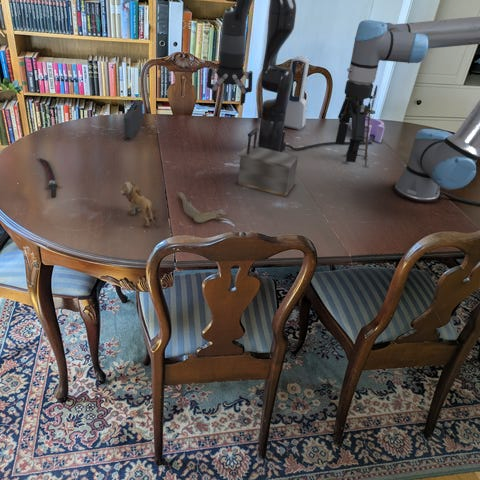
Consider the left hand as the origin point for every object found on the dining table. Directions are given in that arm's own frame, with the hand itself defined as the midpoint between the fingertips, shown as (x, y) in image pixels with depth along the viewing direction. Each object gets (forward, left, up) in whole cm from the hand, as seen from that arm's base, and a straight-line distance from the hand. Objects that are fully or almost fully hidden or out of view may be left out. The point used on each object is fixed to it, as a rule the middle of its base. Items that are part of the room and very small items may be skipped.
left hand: (228, 103), depth 150 cm
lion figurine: (+37, +14, -26) cm, 47 cm away
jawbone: (+18, +16, -26) cm, 36 cm away
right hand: (-22, +33, -7) cm, 40 cm away
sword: (+54, -22, -26) cm, 63 cm away
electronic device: (-58, -34, -26) cm, 72 cm away
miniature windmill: (-58, +8, -26) cm, 64 cm away
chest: (-11, +11, -26) cm, 30 cm away
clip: (-85, -13, -26) cm, 90 cm away
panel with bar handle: (-11, +11, -16) cm, 22 cm away
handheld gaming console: (+11, -52, -26) cm, 59 cm away
